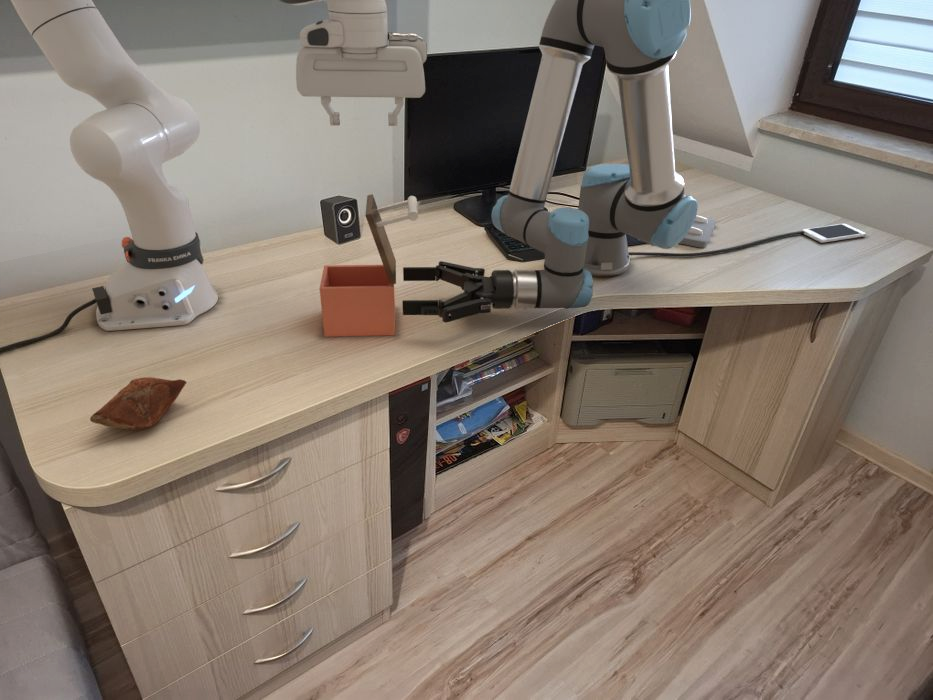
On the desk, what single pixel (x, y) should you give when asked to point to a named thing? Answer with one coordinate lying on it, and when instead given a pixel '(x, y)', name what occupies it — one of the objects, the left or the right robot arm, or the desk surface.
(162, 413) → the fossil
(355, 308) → the chest
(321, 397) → the desk surface
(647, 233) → the right robot arm
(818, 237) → the smartphone
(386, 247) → the lid
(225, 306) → the desk surface
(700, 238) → the light switch
